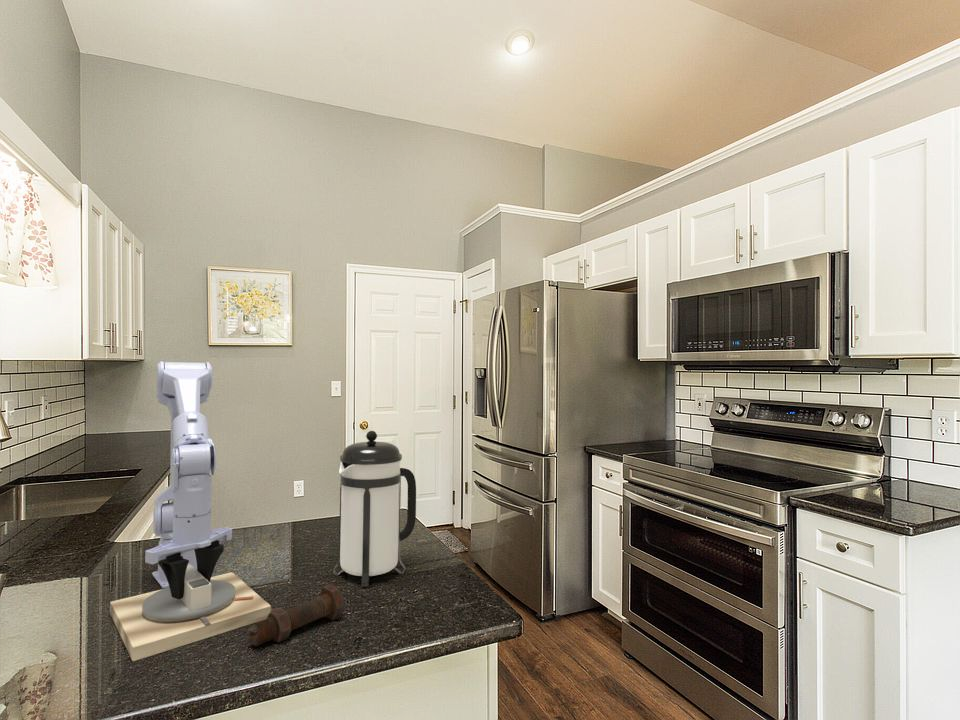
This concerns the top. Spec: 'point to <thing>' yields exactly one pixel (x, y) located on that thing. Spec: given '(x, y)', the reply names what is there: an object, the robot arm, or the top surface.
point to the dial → (189, 599)
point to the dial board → (164, 636)
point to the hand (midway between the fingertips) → (190, 592)
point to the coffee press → (372, 508)
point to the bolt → (297, 617)
